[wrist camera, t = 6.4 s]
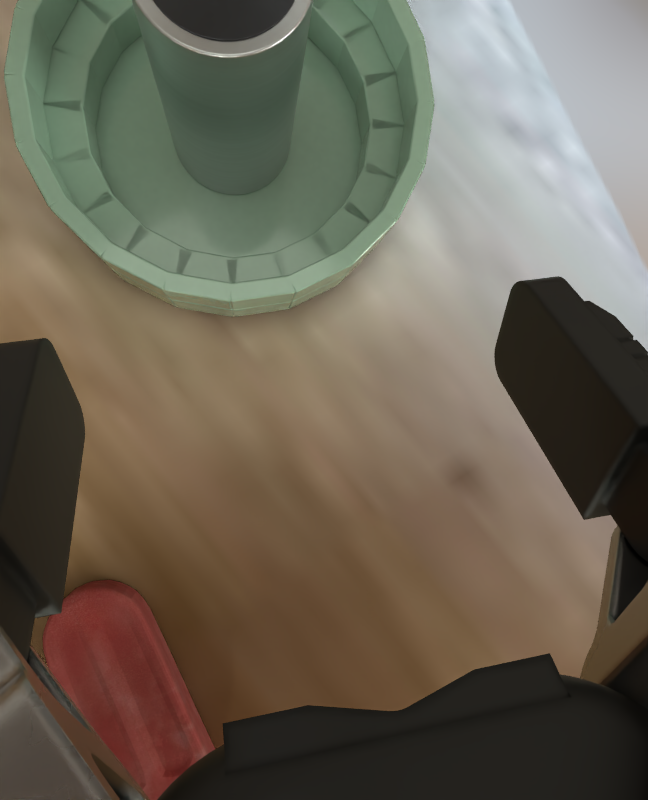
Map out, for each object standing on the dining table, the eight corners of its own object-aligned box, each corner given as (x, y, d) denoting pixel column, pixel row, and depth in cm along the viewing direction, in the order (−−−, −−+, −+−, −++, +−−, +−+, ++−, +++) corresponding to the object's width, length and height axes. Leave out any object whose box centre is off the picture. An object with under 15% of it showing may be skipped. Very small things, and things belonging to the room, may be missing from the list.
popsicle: (164, 956, 23) (18, 619, 22) (171, 917, 25) (35, 604, 24) (268, 901, 24) (127, 571, 23) (267, 868, 25) (136, 560, 25)
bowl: (-30, 129, 24) (-95, 67, 19) (232, -101, 25) (228, -209, 21) (234, 388, 25) (230, 386, 21) (467, 156, 27) (511, 107, 22)
